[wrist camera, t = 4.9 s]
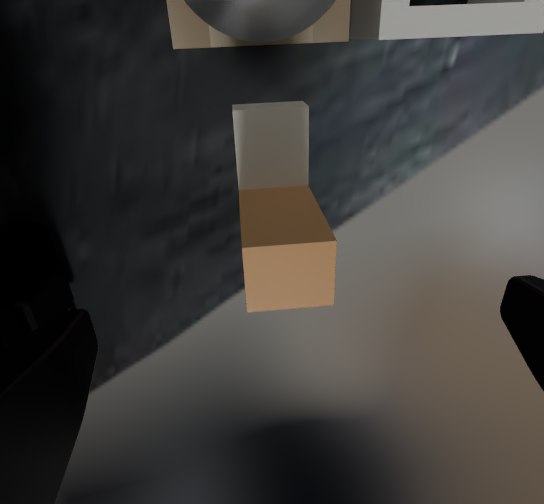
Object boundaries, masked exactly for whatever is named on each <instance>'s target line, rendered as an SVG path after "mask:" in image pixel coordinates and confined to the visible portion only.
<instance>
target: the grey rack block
mask: <svg viewBox="0 0 544 504" xmlns="http://www.w3.org/2000/svg"><path fill="white" fill-rule="evenodd" d="M409 5H410V0H352V1H351V22H350V39H366V40H389V39H412V38H435V37H457V36H480V35H503V34H526V33H543V31H544V0H468V2H467V4H456V5H430V6H409Z"/></svg>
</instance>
